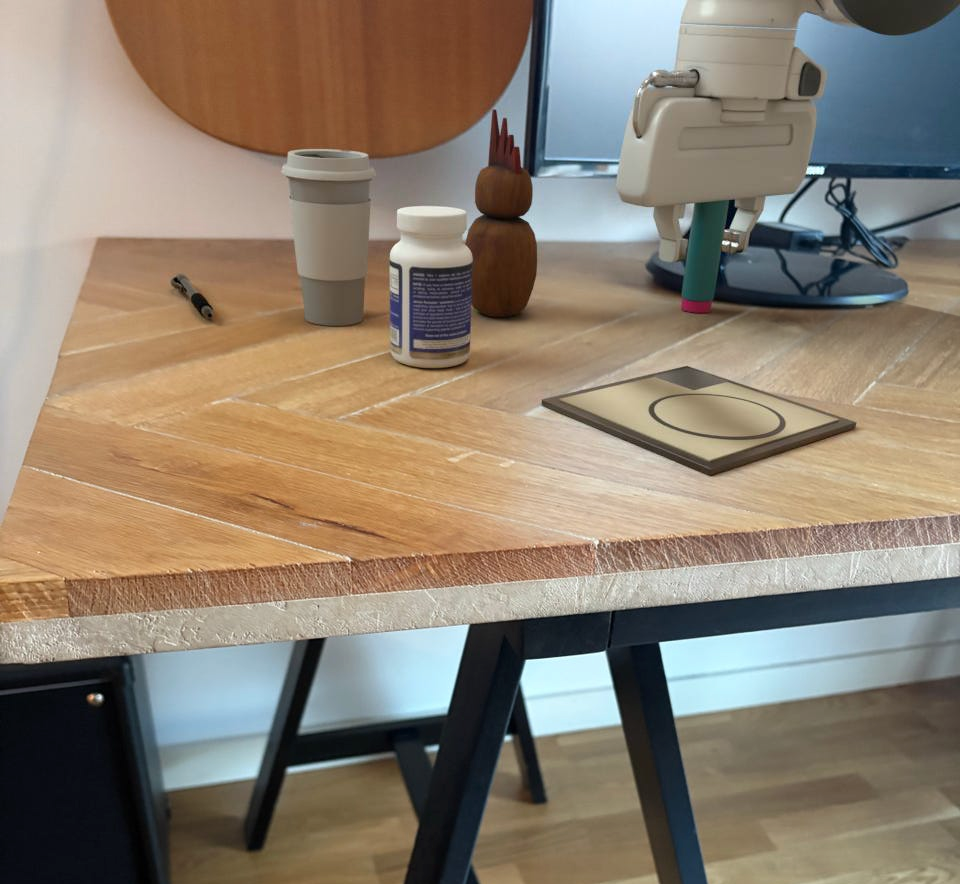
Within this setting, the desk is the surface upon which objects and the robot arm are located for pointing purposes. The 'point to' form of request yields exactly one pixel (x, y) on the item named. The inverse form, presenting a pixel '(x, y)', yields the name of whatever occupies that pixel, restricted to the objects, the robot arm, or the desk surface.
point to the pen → (193, 295)
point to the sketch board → (699, 418)
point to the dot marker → (703, 255)
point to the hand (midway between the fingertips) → (703, 256)
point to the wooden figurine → (502, 230)
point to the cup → (330, 231)
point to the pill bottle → (430, 288)
